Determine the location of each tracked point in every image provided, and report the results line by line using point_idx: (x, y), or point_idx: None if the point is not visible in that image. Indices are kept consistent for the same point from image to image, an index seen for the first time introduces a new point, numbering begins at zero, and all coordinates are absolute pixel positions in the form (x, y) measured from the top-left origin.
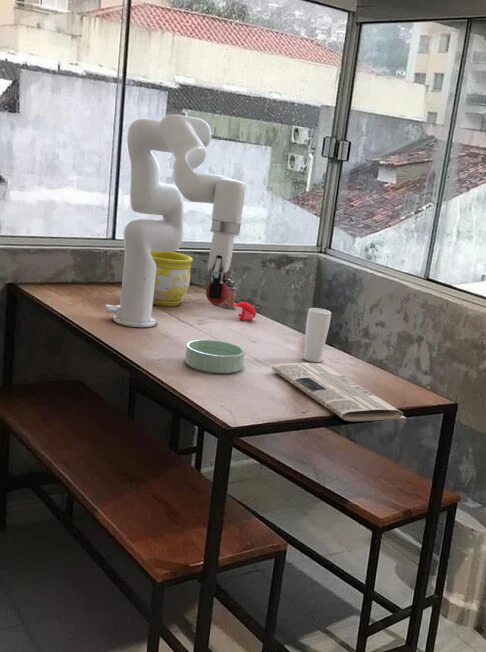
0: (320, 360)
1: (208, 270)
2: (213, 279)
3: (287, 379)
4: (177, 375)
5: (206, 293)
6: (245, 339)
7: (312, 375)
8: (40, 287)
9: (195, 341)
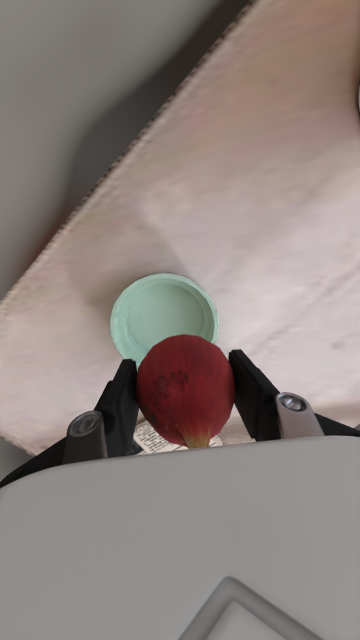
0: None
1: (28, 476)
2: (40, 455)
3: (142, 422)
4: (76, 280)
5: (161, 342)
6: (348, 331)
7: (156, 452)
8: None
9: (188, 284)
